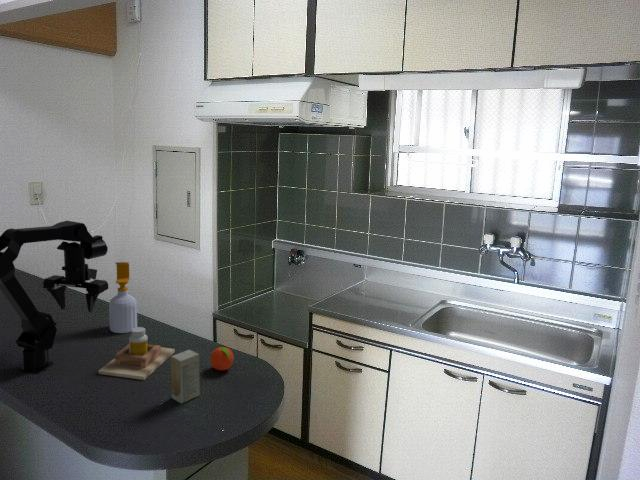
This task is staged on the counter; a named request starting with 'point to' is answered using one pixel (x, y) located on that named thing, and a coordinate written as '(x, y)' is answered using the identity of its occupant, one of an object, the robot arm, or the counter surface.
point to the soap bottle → (122, 304)
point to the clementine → (221, 358)
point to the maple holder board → (136, 362)
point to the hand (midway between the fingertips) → (76, 310)
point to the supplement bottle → (138, 341)
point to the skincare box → (185, 376)
